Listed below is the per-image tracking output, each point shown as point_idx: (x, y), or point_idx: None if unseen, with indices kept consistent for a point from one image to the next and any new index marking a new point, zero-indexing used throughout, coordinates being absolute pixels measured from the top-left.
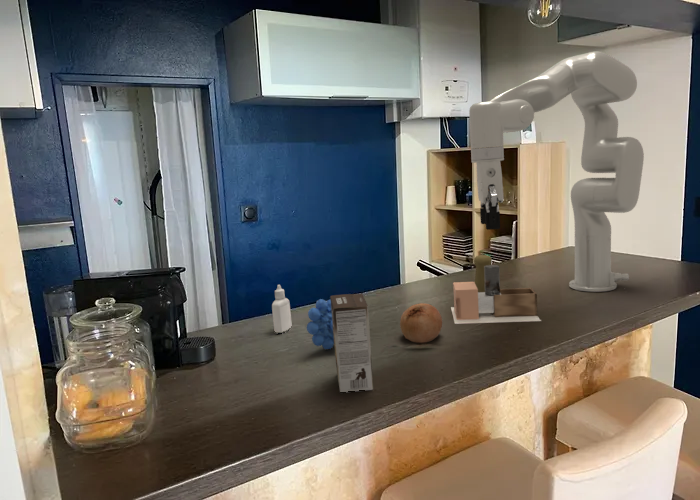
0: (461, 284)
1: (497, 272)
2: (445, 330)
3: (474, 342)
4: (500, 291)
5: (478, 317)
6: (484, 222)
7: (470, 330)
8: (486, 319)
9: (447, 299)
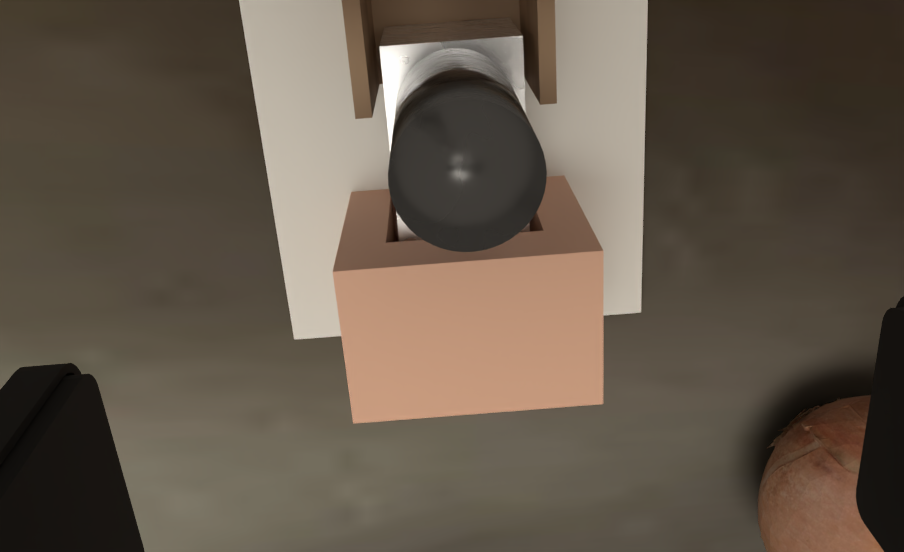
0: (427, 365)
1: (521, 110)
2: (675, 348)
3: (898, 203)
4: (365, 35)
5: (565, 180)
6: (129, 539)
7: (694, 219)
8: (580, 128)
9: (17, 354)
